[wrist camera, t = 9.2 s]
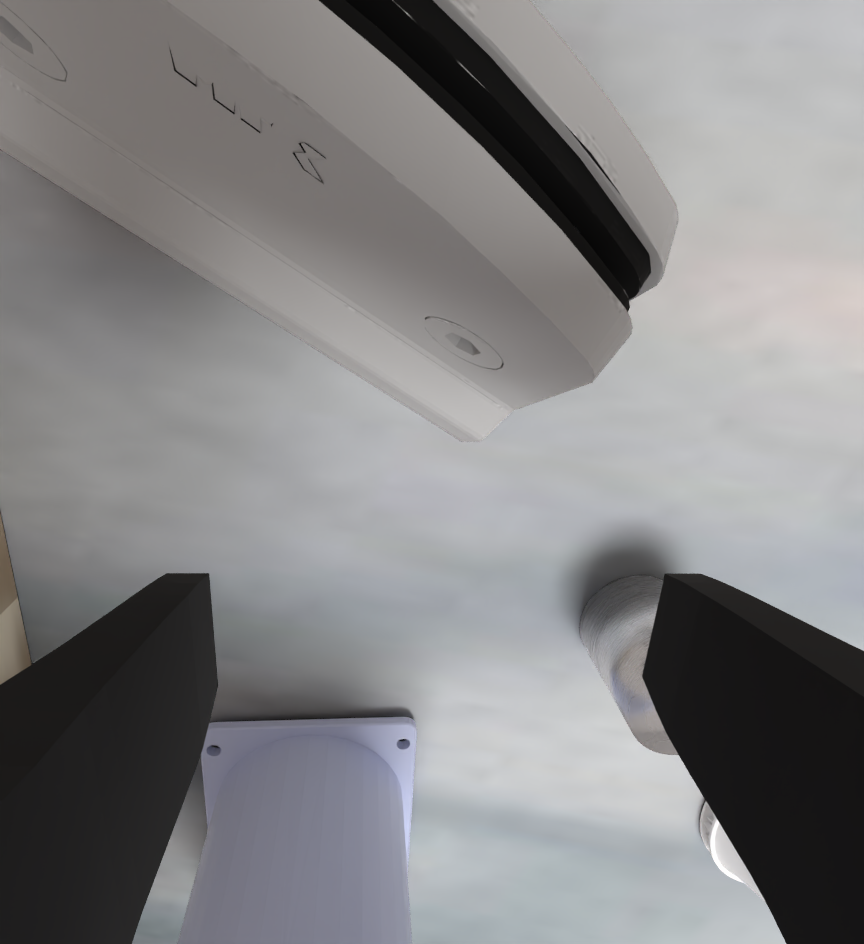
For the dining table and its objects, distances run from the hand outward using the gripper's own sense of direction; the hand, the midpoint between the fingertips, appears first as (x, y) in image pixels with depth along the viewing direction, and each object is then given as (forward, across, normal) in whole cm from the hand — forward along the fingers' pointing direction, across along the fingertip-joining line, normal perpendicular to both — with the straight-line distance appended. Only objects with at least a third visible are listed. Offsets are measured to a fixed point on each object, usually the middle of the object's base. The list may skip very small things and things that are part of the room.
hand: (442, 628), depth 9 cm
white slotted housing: (+11, +3, -7) cm, 13 cm away
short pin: (+10, -9, +7) cm, 16 cm away
